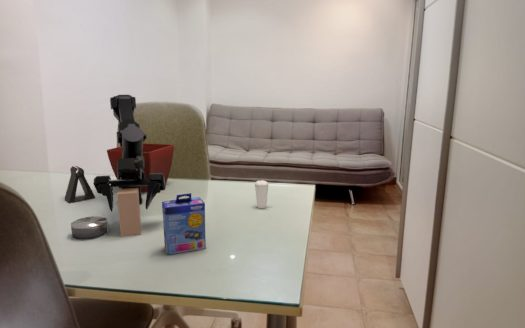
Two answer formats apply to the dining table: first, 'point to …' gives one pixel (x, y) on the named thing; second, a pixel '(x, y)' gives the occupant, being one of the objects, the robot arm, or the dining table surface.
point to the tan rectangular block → (129, 212)
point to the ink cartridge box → (184, 224)
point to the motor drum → (89, 228)
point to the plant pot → (148, 160)
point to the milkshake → (261, 193)
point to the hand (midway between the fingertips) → (128, 209)
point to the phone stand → (73, 186)
